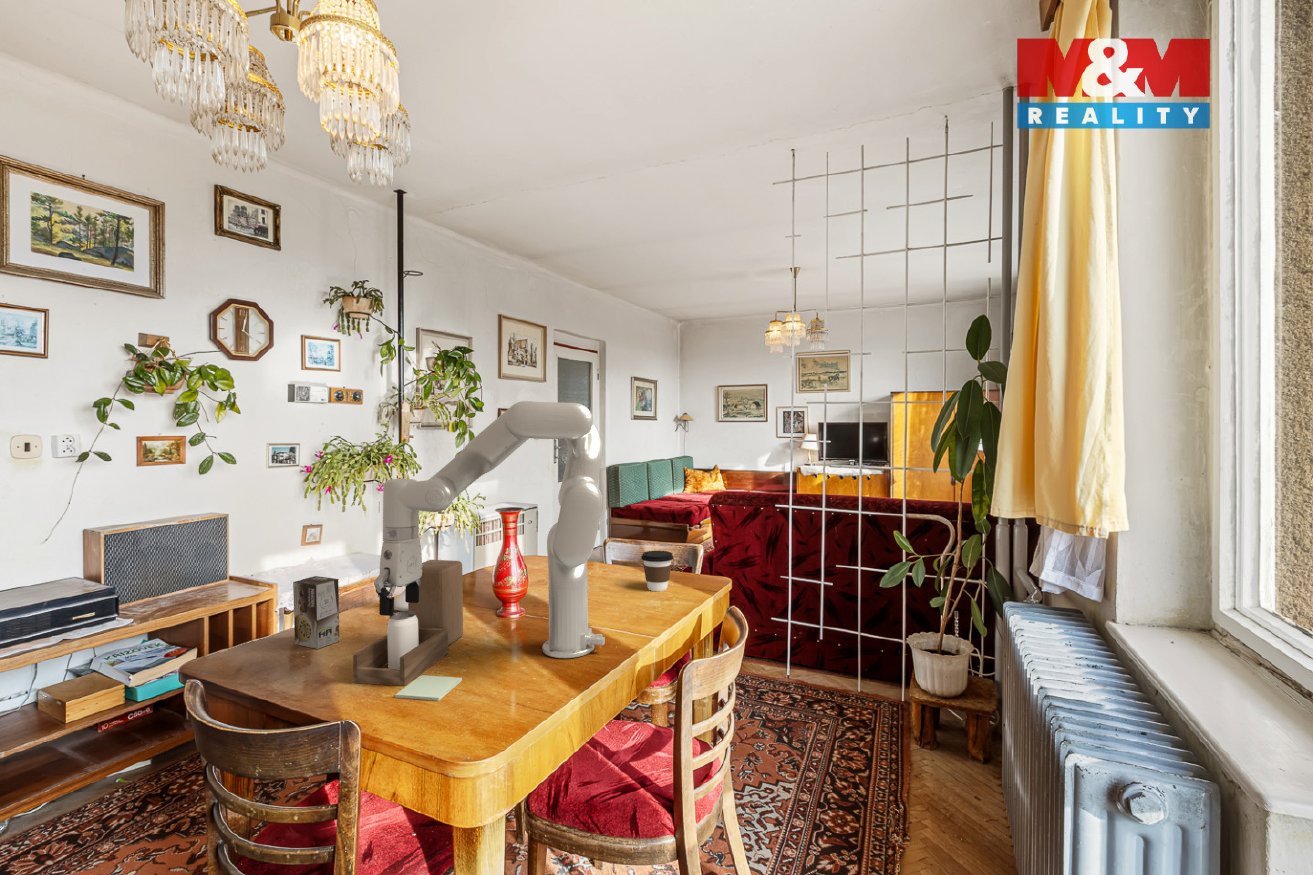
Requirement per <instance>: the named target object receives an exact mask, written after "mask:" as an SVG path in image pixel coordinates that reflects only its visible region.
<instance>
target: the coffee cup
mask: <svg viewBox="0 0 1313 875" xmlns="http://www.w3.org/2000/svg"><path fill="white" fill-rule="evenodd" d="M640 559H641V560H642V561H643V565H642V566H643V570H644V571H643V572H644V575H645V578H644V579H645V581H646V586H647V589H648V591H650V590H651V591H650V592H655V591H660V592H665V591H666V590H668V585H669V581H670V576H671V568H672V560H674V555H673V552H670V551H669V550H667V551H666V550H647V551H644V552H642V555H641V557H640ZM664 590H665V591H664Z"/></svg>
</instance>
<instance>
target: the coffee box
mask: <svg viewBox="0 0 1313 875" xmlns="http://www.w3.org/2000/svg"><path fill="white" fill-rule="evenodd" d="M292 583H293V584H292V588H293V590H292V591H293V614H294V615H293V619H294V620H293V624H294V645H296V646H303V647H308V648H312V649H316V650H318V649H319V650H320V649H321V648H324V647H327V646H330V645H333V644H336V643H339V642H338V641H340V605H339V604H340V602H339V600H340V598H339V589H340V588H339V578H332V577H325V576H320V575H319V576H318V575H314V576H311V577H310V576H309V577H306V578H302V579H299V580H295V581H293V582H292Z"/></svg>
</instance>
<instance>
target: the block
mask: <svg viewBox="0 0 1313 875" xmlns="http://www.w3.org/2000/svg"><path fill="white" fill-rule="evenodd" d="M422 563H423V564H424V566H423V570H422V576H421V579H420V581H421V583H420V585H418V586H419V602H418V603H408V611H412V612H415V613H416V617H417V619H418V627H420V628H440V629H448V646H450V645H451V644H453V643H454V642H456V641H457V640H459V639H460V638H462V637H463V635H464V605H463V604H464V602H463V600H464V598H463V594H464V593H463V591H464V590H463V562H462V561H460V560H449V559H448V560H447V559H443V560H442V559H428V560H426V561H422Z"/></svg>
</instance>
